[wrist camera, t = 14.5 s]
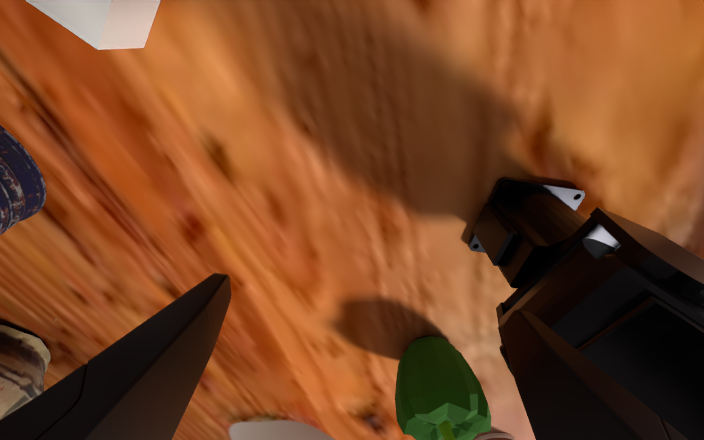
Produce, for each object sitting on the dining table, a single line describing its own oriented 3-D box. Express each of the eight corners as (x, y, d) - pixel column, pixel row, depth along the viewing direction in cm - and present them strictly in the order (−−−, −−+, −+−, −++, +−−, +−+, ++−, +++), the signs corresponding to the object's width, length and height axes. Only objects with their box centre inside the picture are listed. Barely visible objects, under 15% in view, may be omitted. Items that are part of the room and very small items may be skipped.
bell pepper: (375, 345, 32) (383, 457, 23) (442, 315, 29) (478, 430, 20) (415, 378, 35) (434, 486, 27) (478, 355, 32) (521, 467, 24)
